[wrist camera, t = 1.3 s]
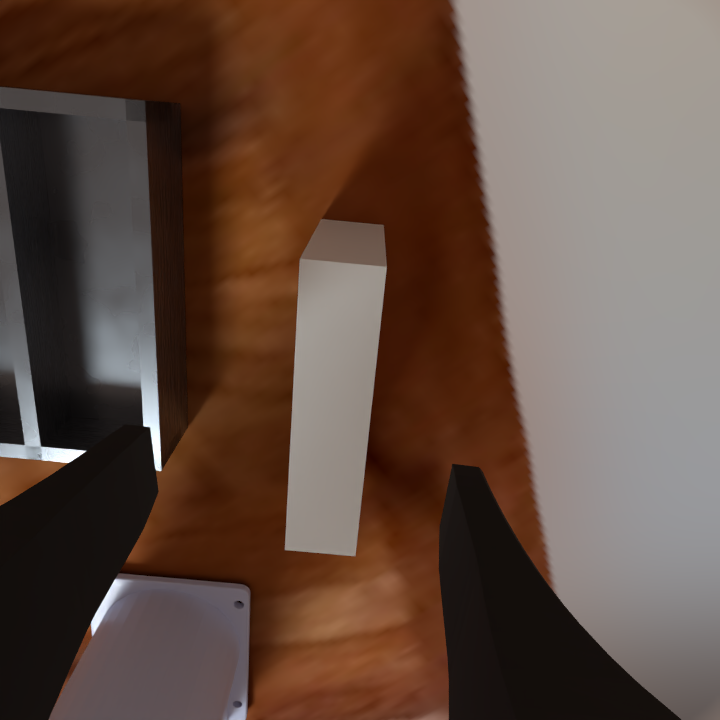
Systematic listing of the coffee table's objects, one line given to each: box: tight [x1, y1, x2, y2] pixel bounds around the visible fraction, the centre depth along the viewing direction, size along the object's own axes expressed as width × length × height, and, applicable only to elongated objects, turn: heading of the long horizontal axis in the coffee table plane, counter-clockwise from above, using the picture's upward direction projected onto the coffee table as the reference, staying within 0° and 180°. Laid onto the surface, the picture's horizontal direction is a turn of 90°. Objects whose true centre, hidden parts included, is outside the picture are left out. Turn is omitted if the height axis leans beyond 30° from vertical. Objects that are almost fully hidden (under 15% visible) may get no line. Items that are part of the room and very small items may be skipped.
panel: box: [285, 219, 387, 556], centre depth 21 cm, size 10×2×7 cm, turn 175°
